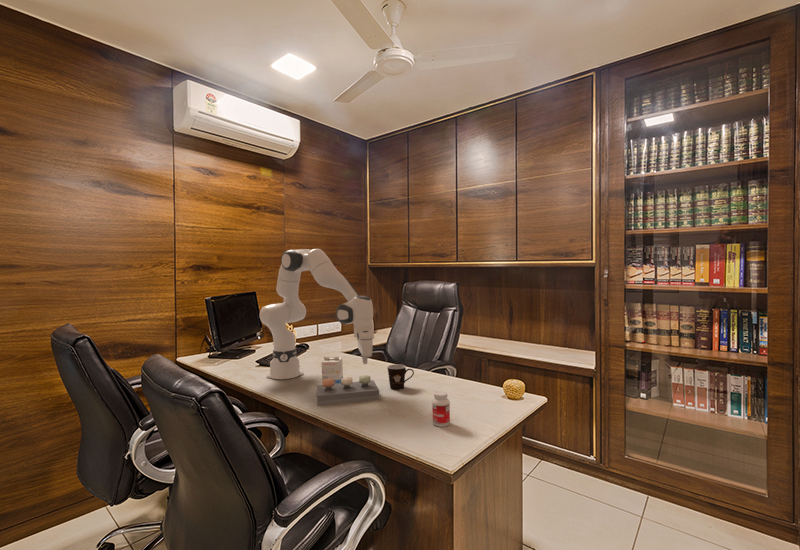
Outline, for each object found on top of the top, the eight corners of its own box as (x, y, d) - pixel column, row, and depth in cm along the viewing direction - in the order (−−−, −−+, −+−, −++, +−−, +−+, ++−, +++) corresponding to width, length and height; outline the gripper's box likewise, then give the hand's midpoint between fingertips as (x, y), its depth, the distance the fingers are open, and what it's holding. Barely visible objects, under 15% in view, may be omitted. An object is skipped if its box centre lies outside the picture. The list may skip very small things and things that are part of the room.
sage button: (358, 385, 167) (358, 375, 167) (369, 384, 168) (369, 375, 168) (360, 389, 162) (359, 379, 162) (371, 388, 163) (371, 378, 163)
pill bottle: (429, 424, 132) (428, 393, 132) (438, 418, 137) (438, 389, 137) (443, 429, 128) (443, 397, 128) (453, 423, 133) (452, 392, 133)
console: (316, 394, 168) (316, 385, 167) (373, 388, 173) (373, 380, 173) (317, 405, 153) (316, 396, 153) (379, 399, 159) (379, 390, 159)
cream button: (340, 387, 165) (340, 377, 165) (352, 386, 166) (351, 376, 166) (341, 390, 160) (341, 380, 160) (353, 389, 161) (353, 379, 161)
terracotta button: (322, 389, 163) (322, 379, 163) (334, 388, 164) (333, 378, 164) (322, 392, 158) (322, 382, 158) (334, 391, 159) (334, 381, 159)
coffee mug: (384, 389, 171) (384, 368, 171) (392, 384, 179) (391, 363, 179) (408, 392, 167) (407, 370, 167) (414, 386, 175) (414, 365, 175)
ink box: (343, 380, 188) (342, 354, 187) (339, 385, 179) (338, 358, 179) (326, 380, 189) (326, 354, 188) (321, 385, 180) (321, 358, 180)
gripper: (354, 329, 174) (355, 358, 174) (359, 336, 154) (360, 369, 154) (367, 328, 175) (368, 357, 175) (374, 335, 155) (375, 368, 156)
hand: (364, 363), depth 165 cm, fingers closed
